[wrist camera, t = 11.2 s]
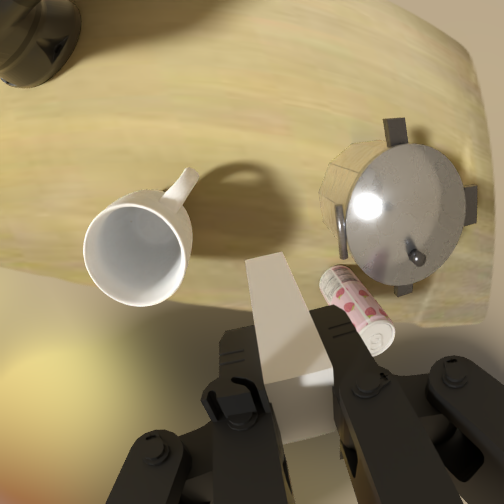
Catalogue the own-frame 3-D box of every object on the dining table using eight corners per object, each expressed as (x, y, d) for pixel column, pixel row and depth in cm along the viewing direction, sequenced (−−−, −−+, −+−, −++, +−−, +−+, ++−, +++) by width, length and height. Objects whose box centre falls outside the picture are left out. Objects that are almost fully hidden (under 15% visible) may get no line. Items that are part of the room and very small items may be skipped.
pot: (306, 126, 37) (332, 125, 27) (408, 115, 37) (451, 116, 27) (329, 278, 45) (353, 314, 36) (417, 254, 45) (452, 281, 36)
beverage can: (331, 303, 47) (366, 366, 33) (311, 280, 45) (344, 342, 31) (359, 281, 46) (403, 337, 32) (341, 256, 44) (385, 310, 30)
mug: (165, 139, 36) (137, 143, 24) (233, 189, 39) (236, 215, 27) (107, 229, 40) (67, 268, 27) (169, 272, 43) (151, 325, 31)
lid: (325, 153, 29) (333, 156, 26) (469, 138, 28) (483, 140, 25) (342, 297, 35) (349, 309, 33) (468, 260, 34) (480, 268, 32)
